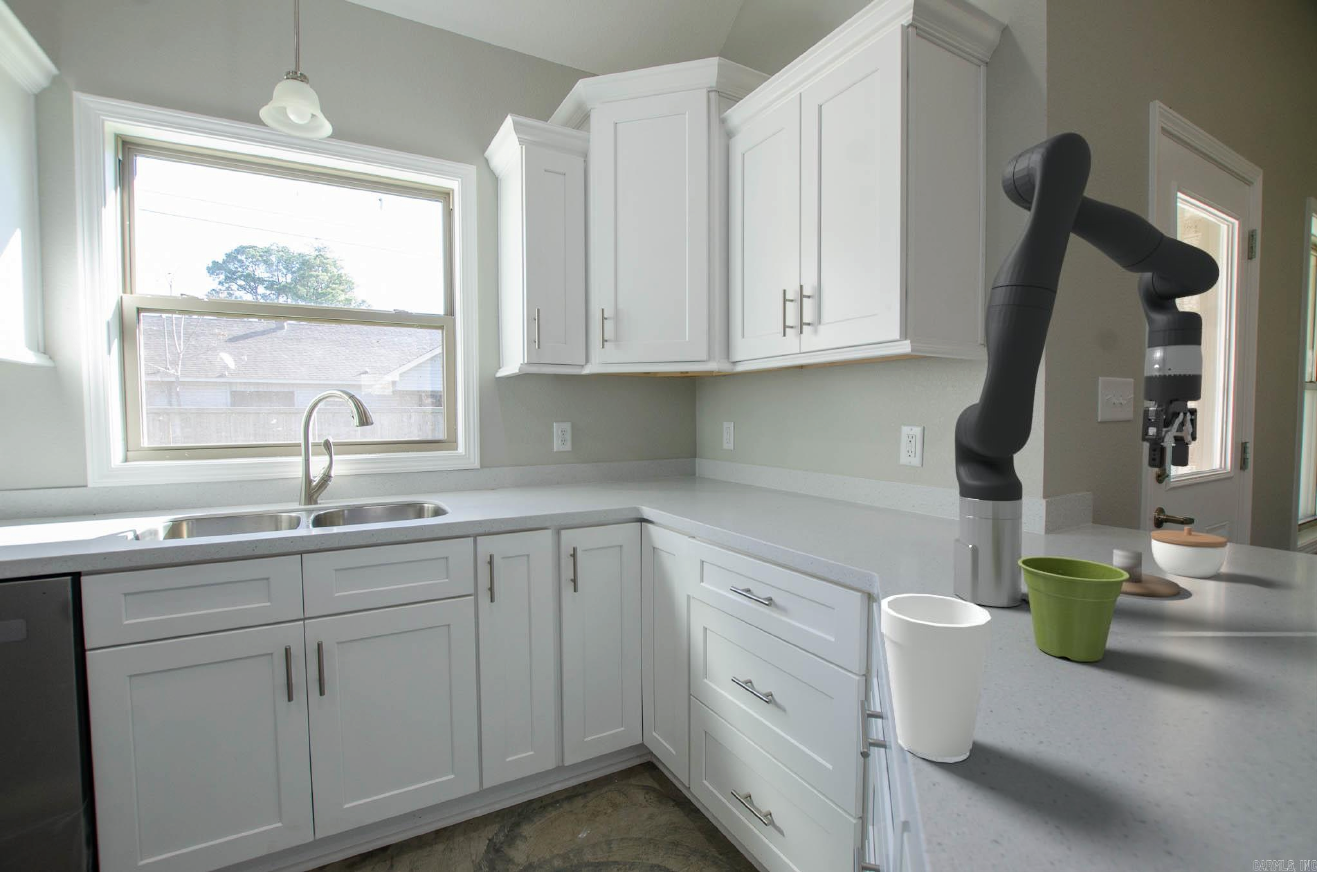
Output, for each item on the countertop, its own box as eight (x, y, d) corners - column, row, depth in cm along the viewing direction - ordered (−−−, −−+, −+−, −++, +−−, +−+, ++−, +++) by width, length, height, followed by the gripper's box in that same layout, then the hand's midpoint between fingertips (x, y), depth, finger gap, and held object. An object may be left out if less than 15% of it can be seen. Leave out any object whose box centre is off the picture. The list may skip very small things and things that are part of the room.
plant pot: (1096, 679, 69) (1097, 584, 68) (997, 645, 79) (998, 562, 79) (1147, 659, 74) (1148, 571, 74) (1048, 629, 85) (1049, 552, 84)
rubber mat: (1113, 603, 95) (1113, 600, 95) (1047, 575, 112) (1047, 572, 112) (1220, 603, 95) (1221, 600, 95) (1138, 575, 112) (1138, 572, 112)
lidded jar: (1242, 585, 104) (1243, 533, 104) (1173, 582, 107) (1174, 531, 106) (1199, 569, 115) (1201, 522, 115) (1137, 567, 117) (1138, 521, 117)
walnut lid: (1115, 597, 97) (1116, 561, 96) (1060, 574, 111) (1061, 543, 110) (1203, 597, 96) (1203, 561, 96) (1136, 574, 110) (1137, 542, 110)
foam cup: (864, 720, 60) (864, 595, 59) (950, 715, 61) (951, 592, 60) (912, 777, 50) (912, 629, 50) (1013, 770, 51) (1014, 624, 51)
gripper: (1181, 370, 94) (1176, 470, 95) (1218, 374, 101) (1214, 467, 102) (1126, 373, 101) (1122, 466, 102) (1164, 376, 108) (1161, 464, 108)
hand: (1168, 467), depth 102 cm, fingers open, 8 cm apart
